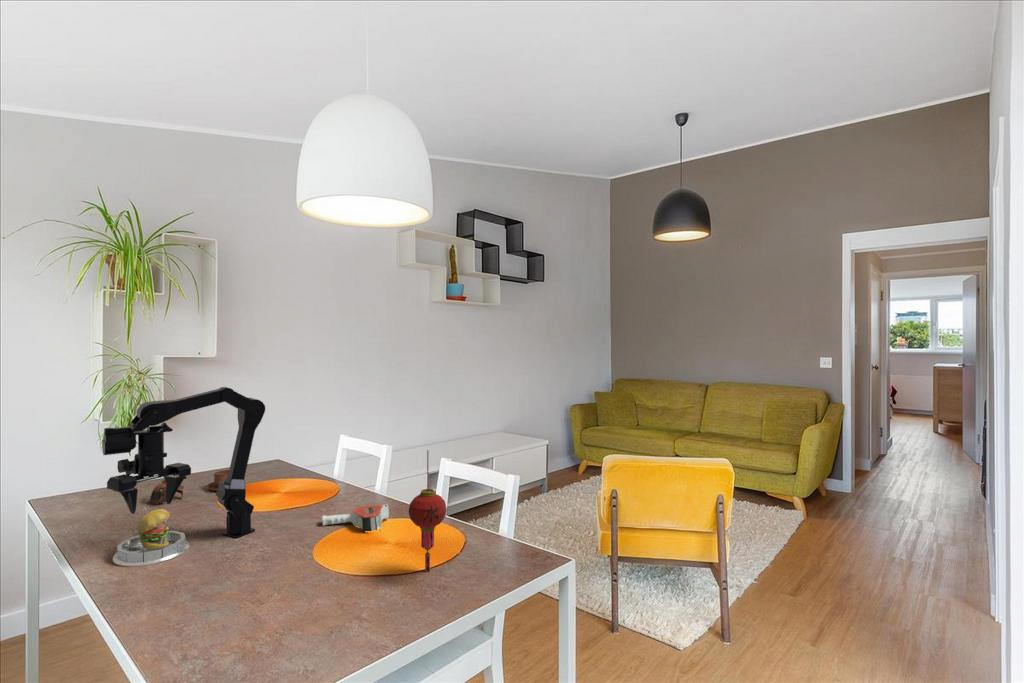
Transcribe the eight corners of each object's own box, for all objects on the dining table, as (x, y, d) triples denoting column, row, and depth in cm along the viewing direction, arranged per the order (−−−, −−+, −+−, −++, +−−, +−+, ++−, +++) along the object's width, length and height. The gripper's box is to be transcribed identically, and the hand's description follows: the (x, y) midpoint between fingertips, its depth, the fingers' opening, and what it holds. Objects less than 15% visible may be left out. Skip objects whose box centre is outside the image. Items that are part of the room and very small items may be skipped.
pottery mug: (146, 502, 190) (159, 478, 194) (175, 510, 194) (187, 487, 198) (146, 501, 181) (159, 477, 184) (176, 510, 185) (189, 486, 188)
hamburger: (170, 551, 145) (170, 506, 145) (137, 558, 141) (137, 511, 141) (169, 542, 151) (168, 499, 151) (137, 548, 147) (137, 503, 147)
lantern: (405, 565, 138) (405, 447, 138) (441, 560, 142) (442, 445, 141) (412, 582, 129) (412, 455, 129) (450, 575, 133) (451, 452, 132)
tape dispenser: (317, 530, 168) (353, 542, 155) (315, 512, 168) (352, 524, 155) (366, 512, 181) (404, 523, 168) (365, 496, 181) (402, 506, 168)
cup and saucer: (211, 485, 209) (210, 469, 209) (245, 483, 213) (245, 467, 213) (203, 494, 198) (203, 477, 198) (240, 491, 202) (240, 475, 201)
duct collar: (203, 547, 150) (203, 535, 150) (138, 571, 134) (138, 559, 134) (164, 536, 157) (164, 526, 157) (98, 559, 142) (98, 547, 142)
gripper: (167, 440, 157) (167, 495, 157) (94, 453, 140) (94, 514, 140) (192, 444, 152) (192, 500, 152) (120, 458, 135) (120, 521, 136)
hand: (151, 508), depth 145 cm, fingers open, 9 cm apart
